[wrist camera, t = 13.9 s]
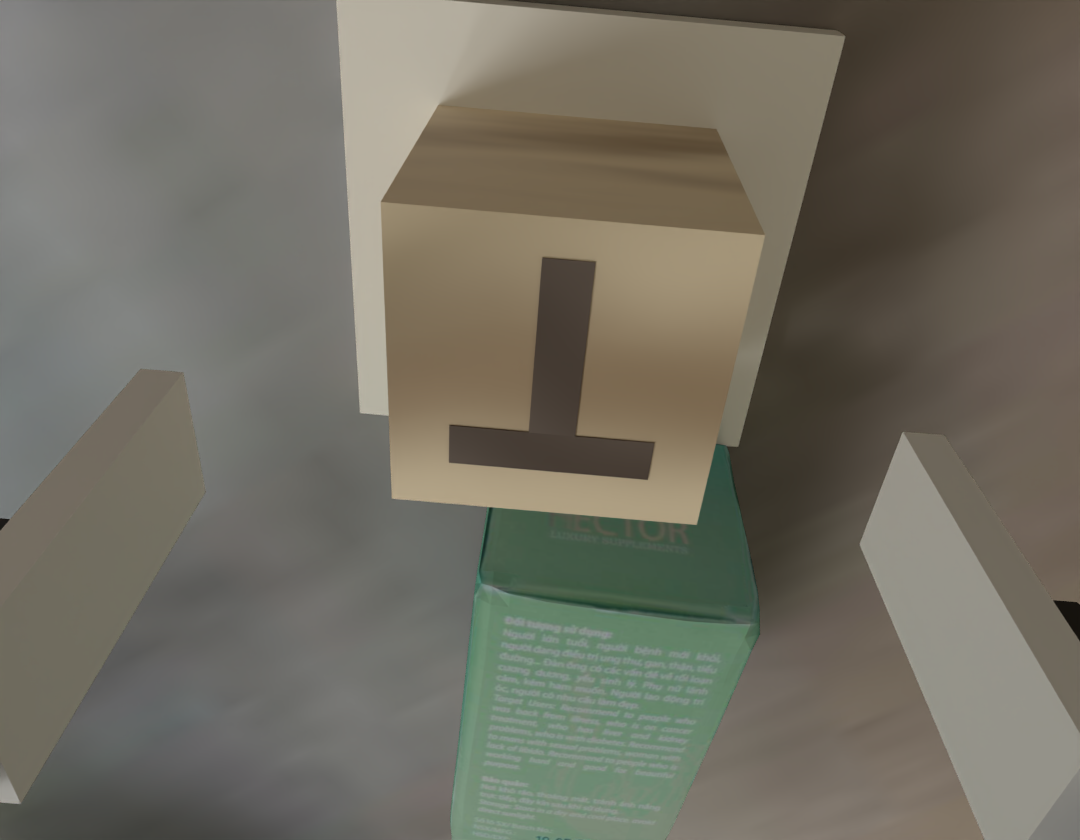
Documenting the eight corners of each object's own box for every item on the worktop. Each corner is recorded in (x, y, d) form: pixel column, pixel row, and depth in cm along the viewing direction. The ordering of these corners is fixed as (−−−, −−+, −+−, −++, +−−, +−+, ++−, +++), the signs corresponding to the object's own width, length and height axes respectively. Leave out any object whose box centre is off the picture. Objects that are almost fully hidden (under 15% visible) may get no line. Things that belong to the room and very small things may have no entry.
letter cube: (438, 104, 21) (380, 202, 15) (716, 129, 21) (765, 236, 15) (437, 348, 25) (391, 499, 19) (671, 368, 25) (697, 525, 19)
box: (735, 432, 26) (773, 627, 20) (650, 683, 34) (659, 873, 28) (500, 401, 26) (469, 590, 20) (473, 662, 34) (445, 848, 28)
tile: (365, 399, 27) (360, 413, 26) (344, -15, 20) (335, -11, 19) (734, 432, 27) (738, 447, 26) (836, 30, 20) (845, 36, 20)
